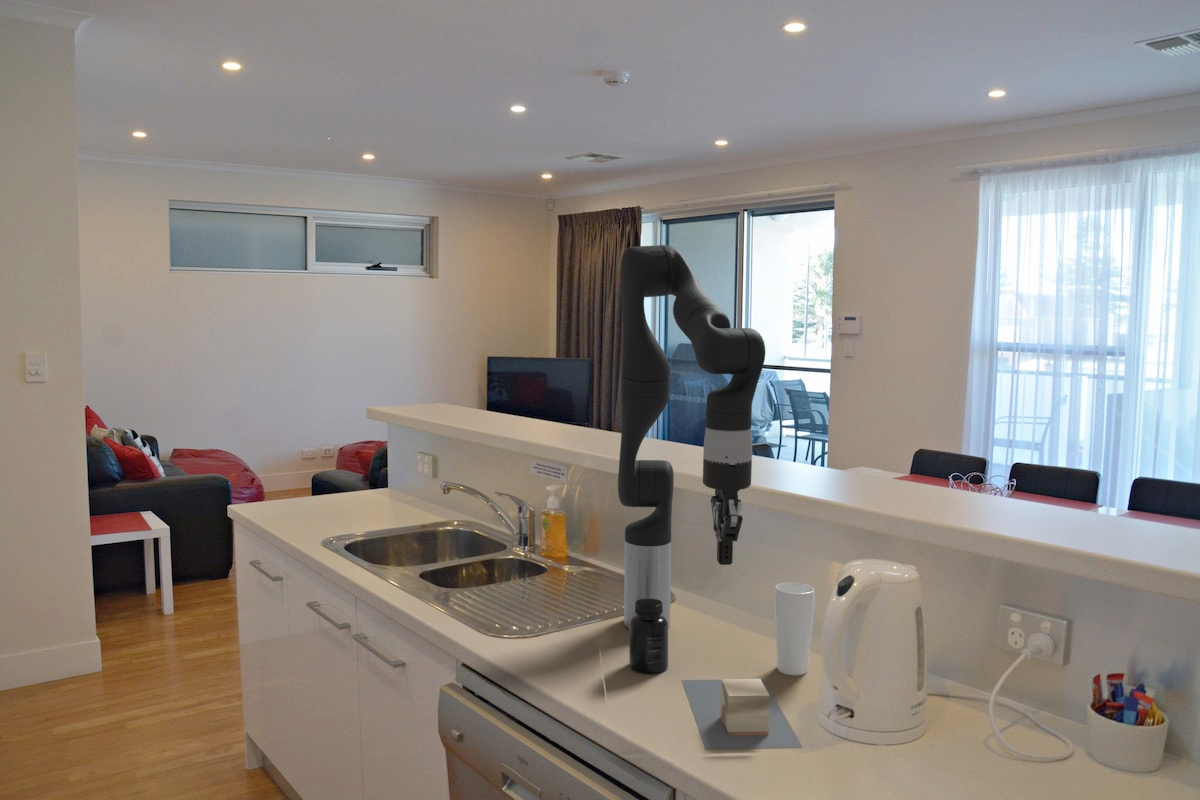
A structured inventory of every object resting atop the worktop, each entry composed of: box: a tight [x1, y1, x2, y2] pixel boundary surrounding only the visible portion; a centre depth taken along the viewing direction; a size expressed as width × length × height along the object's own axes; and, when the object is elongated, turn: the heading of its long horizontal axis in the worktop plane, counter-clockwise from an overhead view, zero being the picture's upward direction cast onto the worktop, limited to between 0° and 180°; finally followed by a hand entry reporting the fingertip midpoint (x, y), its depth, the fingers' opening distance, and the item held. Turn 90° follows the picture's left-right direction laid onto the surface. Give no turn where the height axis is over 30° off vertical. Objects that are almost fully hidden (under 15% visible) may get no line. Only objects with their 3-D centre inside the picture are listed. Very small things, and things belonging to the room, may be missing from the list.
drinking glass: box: [773, 581, 815, 676], centre depth 154 cm, size 7×7×15 cm
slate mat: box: [681, 678, 804, 750], centre depth 138 cm, size 24×14×1 cm, turn 3°
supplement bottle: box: [628, 598, 669, 675], centre depth 155 cm, size 7×7×12 cm
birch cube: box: [720, 678, 770, 735], centre depth 133 cm, size 6×6×6 cm
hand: (724, 563), depth 141 cm, fingers closed
